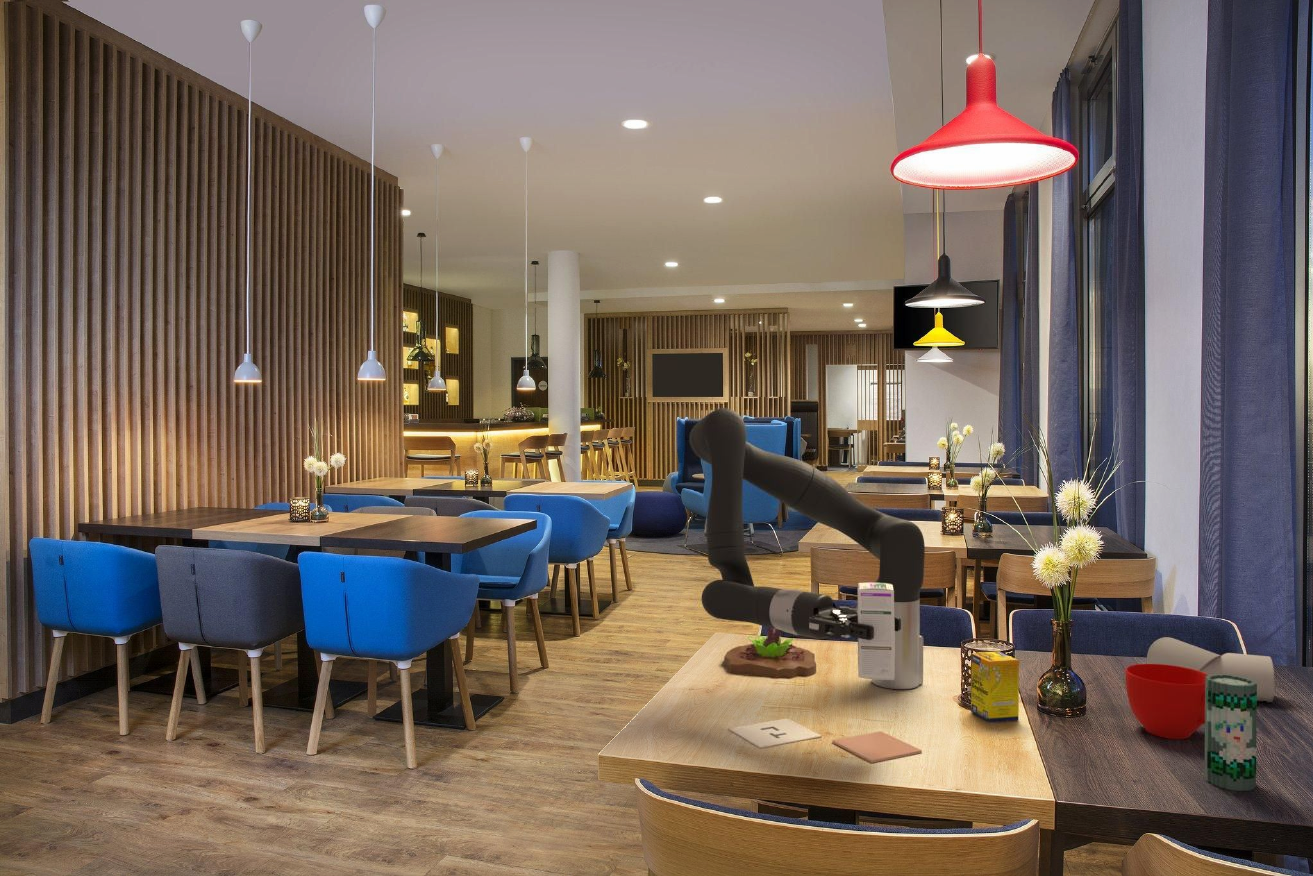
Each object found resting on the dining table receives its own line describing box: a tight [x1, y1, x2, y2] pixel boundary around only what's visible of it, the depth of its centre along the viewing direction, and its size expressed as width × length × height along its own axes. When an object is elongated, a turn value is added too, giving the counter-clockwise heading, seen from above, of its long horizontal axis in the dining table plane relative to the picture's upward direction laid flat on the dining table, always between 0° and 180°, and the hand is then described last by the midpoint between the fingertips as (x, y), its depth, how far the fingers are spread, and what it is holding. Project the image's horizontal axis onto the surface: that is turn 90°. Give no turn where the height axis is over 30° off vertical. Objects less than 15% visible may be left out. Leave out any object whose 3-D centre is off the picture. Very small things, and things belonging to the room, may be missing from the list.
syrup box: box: [857, 581, 895, 680], centre depth 148 cm, size 6×6×14 cm
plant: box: [723, 627, 817, 679], centre depth 198 cm, size 20×20×11 cm
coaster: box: [831, 730, 923, 764], centre depth 148 cm, size 10×10×1 cm
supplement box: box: [970, 650, 1020, 724], centre depth 163 cm, size 6×6×11 cm
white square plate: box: [728, 718, 822, 749], centre depth 155 cm, size 12×10×1 cm
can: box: [1204, 674, 1258, 792], centre depth 133 cm, size 6×6×15 cm
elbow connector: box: [1146, 636, 1275, 703], centre depth 179 cm, size 18×11×20 cm
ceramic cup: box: [1124, 663, 1208, 740], centre depth 153 cm, size 13×17×10 cm
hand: (886, 628), depth 146 cm, fingers closed on syrup box, 8 cm apart
